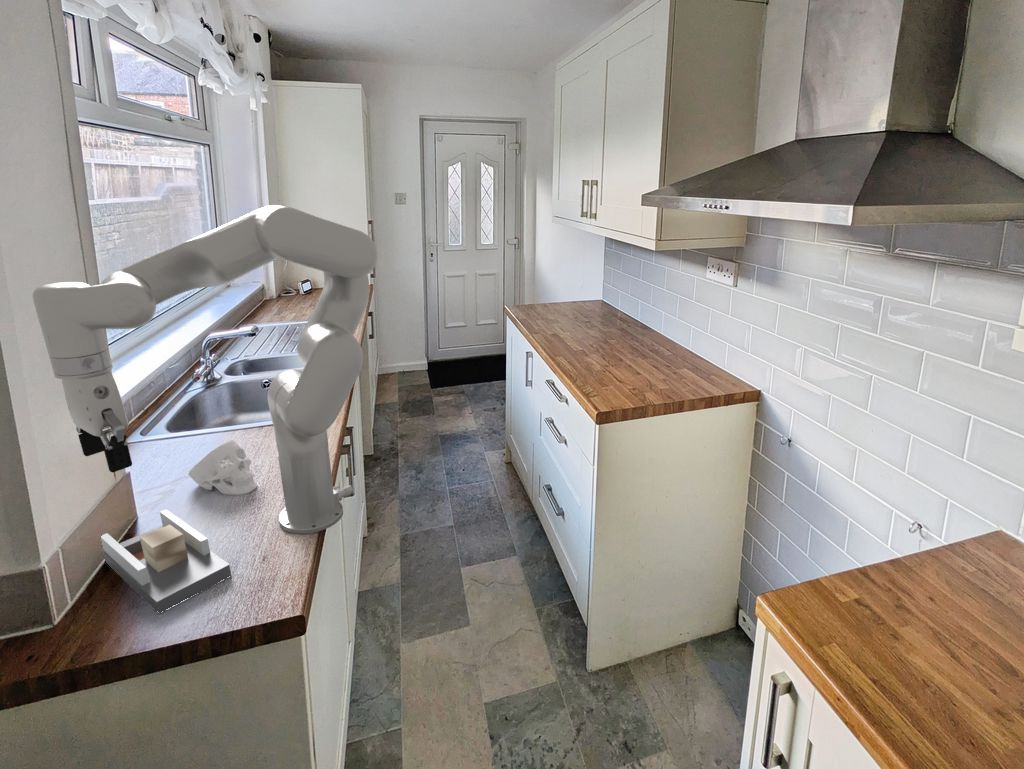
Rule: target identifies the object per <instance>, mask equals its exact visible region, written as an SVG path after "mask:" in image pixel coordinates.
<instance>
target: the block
mask: <svg viewBox="0 0 1024 769" xmlns="http://www.w3.org/2000/svg"><path fill="white" fill-rule="evenodd" d="M140 541H141V545H142V549H143V553H144V557H145V561H146V562H147V563H148V564H149V565H150V566H152V567H153V568H154V569H155V570H156V571H157V572H160V571H163V570H165V569H167V568H169V567H171V566H173V565H175V564H177V563H179V562H181V561H183V560H185V559H188V555H187V550H186V545H185V541H184V536H183V534H182V533H181V532H179V531H178V530H177V529H175V528H174V527H173V526H171V525H170V524H169V525H167V526H165V527H162V528H160V529H158V530H155V531H153V532H151V533H148V534H146V535H144V536H141V537H140Z"/></svg>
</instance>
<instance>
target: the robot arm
mask: <svg viewBox="0 0 1024 769" xmlns="http://www.w3.org/2000/svg"><path fill="white" fill-rule="evenodd" d="M278 259H282V260H285V261H288V262H291V263H294V264H297V265H300V266H304V267H307V268H310V269H315V270H318V271H322V272H323V277H324V278H323V279H324V281H323V287H322V291H321V294H320V296H319V298H318V301H317V303H316V305H315V306H314V309H313V311H312V313H311V315H310V316H309V319H308V321H307V322H306V324H305V326H304V328H303V330H302V331H301V334H300V336H299V337H298V340H297V345H296V349H297V355H298V356H299V358H300V359H301V361H302V362H303V363H304V364H305V366H304V368H303V369H302V370H301V369H287V370H285V371H284V370H283V371H282V372H280V373H278V374H277V375H276V376H275V377H274V379H272V381H271V383H270V384H269V386H268V391H267V404H268V409H269V413H270V418H271V422H272V425H273V426H272V427H273V430H274V431H273V432H274V436H275V443H276V449H277V456H278V466H279V471H280V479H281V485H282V491H283V499H284V505H285V507H284V509H282V510H281V512H280V514H279V516H278V524H279V526H280V527H281V529H283V530H284V531H287V532H288V533H291V534H297V535H299V534H300V535H302V534H303V535H304V534H314V533H317V532H322V531H324V530H326V529H329V528H331V527H332V526H334V525H336V524H337V523H338V522H339V521H340V520H341V519H342V517H343V515H344V506H343V504H342V503H341V502H340V501H342V500H343V498H344V497H347V496H349V495H351V494H353V493H354V487H353V486H352V485H350V484H348V485H346V486H344V487H341V486H340V485H339V484H337V485H335V486H334V485H333V477H332V469H331V466H332V465H331V458H330V451H329V439H328V438H329V437H328V432H327V430H328V429H329V428H330V427H331V426H332V425H333V423H334V422H335V421H336V419H337V417H338V416H339V414H340V412H341V411H342V408H343V407H344V405H345V402H346V401H347V398H348V397H349V395H350V393H351V391H352V390H353V389H352V388H353V387H354V385H355V383H356V380H357V379H358V377H359V375H360V373H361V370H362V365H363V361H364V360H363V359H364V356H363V355H364V353H363V348H362V346H361V343H360V342H359V341H358V340H357V338H356V337H355V336H354V335H355V334H356V330H357V329H358V326H359V324H360V322H361V319H362V318H363V316H364V313H365V311H366V308H367V305H368V301H369V297H370V296H369V295H370V280H369V274H370V273H371V272H372V271H373V269H374V268H375V267H376V264H377V262H378V250H377V245H375V242H374V241H373V240H372V238H371V237H370V236H369V235H368V234H366V233H365V232H363V231H360V230H358V229H355V228H352V227H348V226H346V225H343V224H339V223H336V222H333V221H330V220H327V219H324V218H321V217H319V216H315V215H312V214H310V213H307V212H305V211H302V210H300V209H296V208H294V207H291V206H287V205H280V204H272V205H266V206H264V207H261V208H258V209H255V210H253V211H251V212H250V213H247V214H244V215H243V216H242V215H241V216H240V217H239V218H237V219H234V220H232V221H230V222H228V223H225V224H223V225H221V226H219V227H217V228H214V229H212V230H210V231H207V232H205V233H203V234H200V235H198V236H195V237H193V238H192V239H189V240H186V241H184V242H181V243H180V244H177V245H175V246H173V247H170V248H168V249H165V250H163V251H160V252H158V253H155V254H152V255H150V256H148V257H145V258H143V259H142V260H139V261H137V262H135V263H132V264H130V265H128V266H126V267H123V268H121V269H119V270H117V271H114V272H112V273H111V274H110V275H108V276H107V277H105V278H104V279H103V280H102V281H101V283H100V284H95V285H90V284H88V283H85V282H81V281H62V282H54V283H47V284H43V285H40V286H38V287H35V289H34V290H33V292H32V300H33V303H34V304H33V305H34V308H35V311H36V316H37V319H38V322H39V325H40V329H41V332H42V336H43V339H44V342H45V346H46V350H47V353H48V358H49V361H50V364H51V367H52V371H53V375H54V378H56V379H59V380H61V381H62V382H61V384H62V388H63V391H64V396H65V400H66V404H67V407H68V411H69V415H70V418H71V419H72V422H73V423H74V425H75V426H76V428H75V429H76V432H77V434H78V435H77V436H78V440H79V443H80V447H81V449H82V455H84V456H85V457H90V456H93V455H96V454H99V453H101V452H104V455H105V460H106V463H107V464H106V465H107V468H108V471H109V472H111V473H115V472H118V471H121V470H124V469H127V468H129V467H132V465H133V461H132V456H131V454H130V450H129V446H128V444H129V442H128V439H127V437H128V436H127V434H126V429H128V427H129V419H128V417H127V413H126V410H125V407H124V403H123V400H122V396H121V394H120V391H119V387H118V386H117V383H116V380H115V377H114V375H113V373H112V369H113V367H114V366H113V362H112V359H111V355H110V351H109V350H110V349H109V347H108V342H107V338H106V334H105V330H107V329H108V330H133V329H137V328H141V327H143V326H145V325H146V324H148V323H149V322H150V321H152V320H153V318H154V316H155V314H156V311H157V305H159V304H161V303H163V302H165V301H167V300H169V299H172V298H173V297H176V296H179V295H181V294H183V293H186V292H189V291H192V290H197V289H199V288H201V289H202V288H212V287H213V288H214V287H220V286H223V285H226V284H227V285H228V284H229V283H232V282H234V281H235V280H237V279H240V278H242V277H243V276H245V275H248V274H249V273H251V272H253V271H255V270H257V269H259V268H262V267H263V266H266V265H268V264H270V263H271V262H273V261H275V260H278ZM110 435H111V436H110ZM108 436H110V439H109V438H108Z"/></svg>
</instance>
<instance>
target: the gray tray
mask: <svg viewBox="0 0 1024 769" xmlns="http://www.w3.org/2000/svg"><path fill="white" fill-rule="evenodd" d="M159 514H160V515H159V516H160V519H161V524H162V525H160V526H158V527H155V528H152V529H151V530H150V529H149V530H148V531H145V532H143V533H141V534H138V535H136V536H134V537H132V538H128V539H126V540H124V541H121V542H120V543H119V542H118V541H117V540H116V539H115V538H113V537H112V536H111V535H110V534H109V533H107V532H106V533H104V534H102V536H101V535H100V536H101V540H100V542H101V541H102V543H101V546H102V545H103V547H102V551H103V549H104V551H103V555H104V558H103V560H104V559H105V561H106V563H107V564H108V565H109V566H110V567H111V568H112V569H113V570H114V571H115V572H116V573H117V574H118V575H120V576H121V577H122V578H123V579H124V580H125V581H126V582H127V583H128V584H129V585H130V586H131V587H132V588H133V589H134V590H135V591H136V592H137V593H138V594H139V595H140V596H139V597H141V596H142V597H143V598H144V599H145V600H144V599H143V598H142V597H141V598H142V599H143V600H144V602H146V601H147V602H148V603H149V604H150V605H151V606H152V607H153V608H154V609H155V610H156V611H158V612H159V613H161V612H162V611H165V610H166V609H168V608H170V607H172V606H173V605H176V604H178V603H180V602H181V601H183V600H185V599H187V598H190V597H191V596H193V595H195V594H197V593H199V594H201V593H202V592H201V591H203V590H205V589H207V588H209V587H211V586H213V585H214V586H216V585H218V584H219V583H218V582H220V581H221V580H223V579H226V578H227V577H229V576H231V577H232V572H231V568H230V567H231V566H230V564H229V563H228V562H226V561H225V560H224V559H222V557H219V555H217V554H216V553H214V551H211V549H210V545H209V544H210V543H209V539H208V537H206V536H204V535H203V534H202V533H201V532H200V531H197V529H196V528H193V527H192V526H191V525H189V524H188V523H187V522H185V521H183V519H181V518H180V517H178V516H177V515H175V514H174V513H172V512H171V511H169V510H168V509H166V508H165V509H162V510H161V511H159ZM169 524H170V525H171V526H173V527H174V528H175V529H177V530H178V531H179V532H181V533H182V534H183V536H184V541H185V545H186V550H187V555H188V559H185V560H183V561H181V562H179V563H177V564H175V565H173V566H171V567H169V568H167V569H165V570H163V571H160V572H157V571H156V570H155V569H154V568H153V567H152V566H150V565H149V564H148V563H147V562H146V561H145V557H144V553H143V549H142V545H141V541H140V537H141V536H144V535H146V534H148V533H151V532H153V531H155V530H158V529H160V528H162V527H165V526H167V525H169ZM103 555H102V556H103ZM106 563H105V564H106ZM107 564H106V565H107ZM108 565H107V566H108ZM109 566H108V567H109ZM110 567H109V568H110ZM111 568H110V569H111ZM112 569H111V570H112ZM113 570H112V571H113ZM114 571H113V572H114ZM115 572H114V573H115ZM116 573H115V574H116ZM117 574H116V575H117ZM118 575H117V576H118ZM229 578H230V577H229ZM123 579H122V580H123ZM124 580H123V581H124ZM226 580H227V579H226ZM125 581H124V582H125ZM126 582H125V583H126ZM127 583H126V584H127ZM217 583H218V584H217ZM220 583H221V582H220ZM128 584H127V585H128ZM215 584H216V585H215ZM129 585H128V586H129ZM130 586H129V587H130ZM214 586H213V587H214ZM131 587H130V588H131ZM132 588H131V589H132ZM211 588H212V587H211ZM133 589H132V590H133ZM209 589H210V588H209ZM134 590H133V591H134ZM207 590H208V589H207ZM135 591H134V592H135ZM205 591H206V590H205ZM136 592H135V593H136ZM200 592H201V593H200ZM203 592H204V591H203ZM137 593H136V594H137ZM138 594H137V595H138ZM197 595H198V594H197ZM190 599H191V598H190ZM147 602H146V603H147ZM148 603H147V604H148ZM149 604H148V605H149ZM150 605H149V606H150ZM151 606H150V607H151ZM152 607H151V608H152ZM153 608H152V609H153ZM154 609H153V610H154ZM155 610H154V611H155ZM159 613H158V614H159Z"/></svg>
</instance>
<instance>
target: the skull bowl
mask: <svg viewBox="0 0 1024 769" xmlns="http://www.w3.org/2000/svg"><path fill="white" fill-rule="evenodd" d="M251 464H252V461H251V458H250V457H249V456H248V455H247V453H246V452H245V450H244V448H242V446H241V445H239V444H238V443H237V441H236V440H235V439H233V438H231V439H228V440H226V441H225V442H223V443H222V444H220V445H218V446H217V447H216V448H214V449H213V450H211V451H210V452H208V453H207V454H206V455H205V456H204V457H203V458H201V460H200V461H198V463H196V464H195V465H193V467H192V468H191V469H190V470H189V471H188V474H187V475H188V476H189V477H190V478H191V479H192V480H193V481H194V482H195V483H196V484H197V485H199V486H200V487H202V488H203V489H205V490H207V491H211V490H213V487H215V488H216V489H217V490H218V491H219V492H221V494H223V495H227V496H228V495H229V496H230V495H231V496H242V495H248V494H249V493H251V492H252V491H254V490H255V489H256V488H257V487H258V485H257V482H256V481H255V479H254V476H255V474H254V473H253V471H252V470H250V466H251ZM226 482H230V483H231V484H228V483H226Z"/></svg>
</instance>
